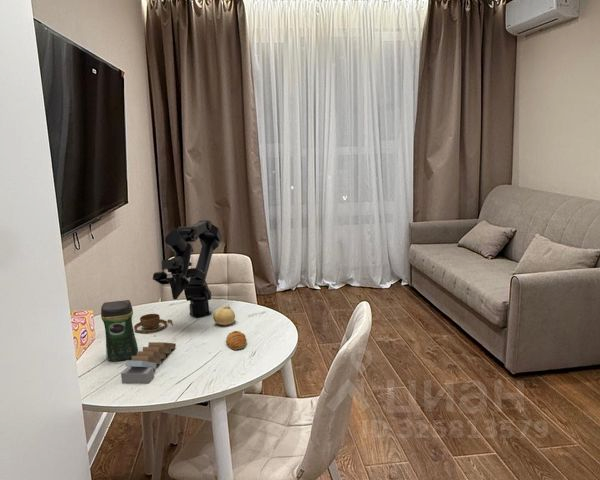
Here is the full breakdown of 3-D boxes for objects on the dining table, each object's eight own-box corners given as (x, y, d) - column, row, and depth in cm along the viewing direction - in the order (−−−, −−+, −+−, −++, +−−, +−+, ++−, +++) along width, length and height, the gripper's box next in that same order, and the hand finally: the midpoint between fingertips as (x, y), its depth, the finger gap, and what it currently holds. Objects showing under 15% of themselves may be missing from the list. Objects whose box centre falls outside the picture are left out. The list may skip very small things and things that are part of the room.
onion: (220, 329, 192) (219, 310, 191) (209, 324, 198) (208, 305, 197) (239, 323, 197) (238, 305, 195) (228, 318, 203) (226, 300, 202)
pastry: (249, 349, 173) (248, 338, 173) (228, 352, 172) (227, 341, 171) (244, 339, 182) (243, 328, 182) (225, 342, 181) (224, 331, 180)
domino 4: (161, 343, 178) (148, 342, 168) (175, 343, 177) (163, 342, 168) (161, 348, 178) (148, 347, 168) (175, 348, 177) (163, 347, 167)
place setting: (129, 339, 188) (127, 323, 187) (119, 323, 206) (117, 308, 205) (178, 329, 196) (176, 313, 195) (164, 313, 214) (163, 299, 212)
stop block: (128, 376, 158) (127, 367, 157) (154, 377, 157) (152, 367, 156) (122, 382, 154) (120, 373, 153) (148, 383, 153) (147, 373, 152)
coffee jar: (139, 349, 177) (133, 296, 174) (136, 359, 170) (130, 303, 166) (109, 353, 176) (102, 299, 172) (105, 363, 168) (97, 307, 164)
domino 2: (146, 358, 167) (131, 355, 157) (161, 358, 166) (147, 356, 156) (145, 363, 166) (131, 361, 157) (160, 364, 165) (147, 361, 156)
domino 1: (141, 363, 163) (125, 360, 153) (156, 363, 162) (142, 360, 153) (140, 368, 162) (125, 366, 153) (155, 368, 162) (141, 366, 152)
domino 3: (151, 353, 170) (137, 351, 161) (165, 353, 169) (152, 351, 160) (150, 358, 170) (136, 356, 160) (165, 358, 169) (152, 357, 159)
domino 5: (156, 348, 174) (142, 346, 165) (171, 348, 173) (158, 347, 164) (156, 353, 174) (142, 352, 164) (170, 353, 173) (157, 352, 163)
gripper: (147, 251, 189) (138, 292, 182) (191, 246, 182) (184, 288, 175) (165, 264, 198) (157, 303, 191) (208, 259, 191) (202, 300, 184)
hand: (174, 299), depth 185 cm, fingers closed
